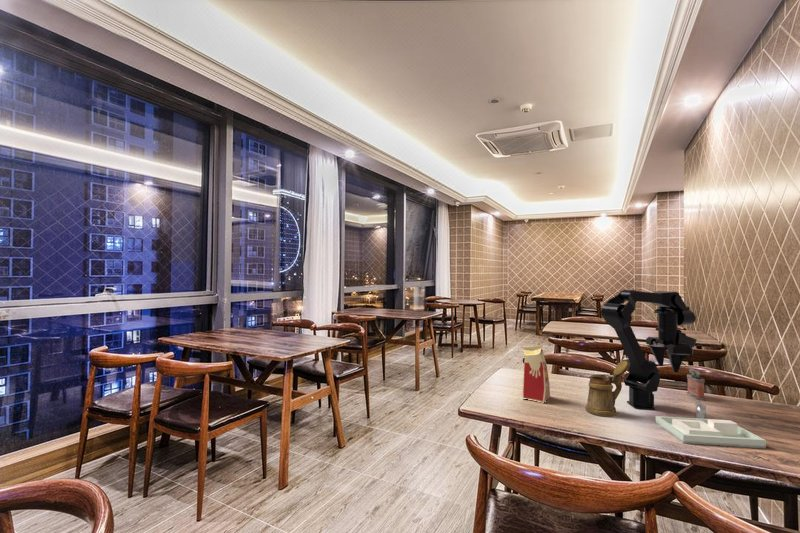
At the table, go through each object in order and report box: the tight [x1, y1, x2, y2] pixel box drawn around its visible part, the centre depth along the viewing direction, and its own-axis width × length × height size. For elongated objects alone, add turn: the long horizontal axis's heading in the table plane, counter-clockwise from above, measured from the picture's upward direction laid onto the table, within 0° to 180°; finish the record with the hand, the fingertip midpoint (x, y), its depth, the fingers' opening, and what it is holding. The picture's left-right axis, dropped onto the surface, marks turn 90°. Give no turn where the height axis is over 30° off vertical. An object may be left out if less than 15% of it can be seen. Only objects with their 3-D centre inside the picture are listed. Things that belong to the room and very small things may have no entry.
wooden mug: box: [585, 358, 630, 418], centre depth 122 cm, size 9×14×18 cm, turn 81°
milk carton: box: [521, 344, 551, 404], centre depth 136 cm, size 9×9×20 cm
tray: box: [655, 415, 767, 450], centre depth 105 cm, size 20×14×2 cm
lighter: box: [686, 368, 706, 402], centre depth 138 cm, size 8×3×10 cm, turn 168°
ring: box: [672, 418, 738, 436], centre depth 105 cm, size 14×8×4 cm, turn 82°
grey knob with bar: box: [694, 401, 707, 419], centre depth 116 cm, size 2×3×5 cm
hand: (668, 369), depth 132 cm, fingers open, 9 cm apart
